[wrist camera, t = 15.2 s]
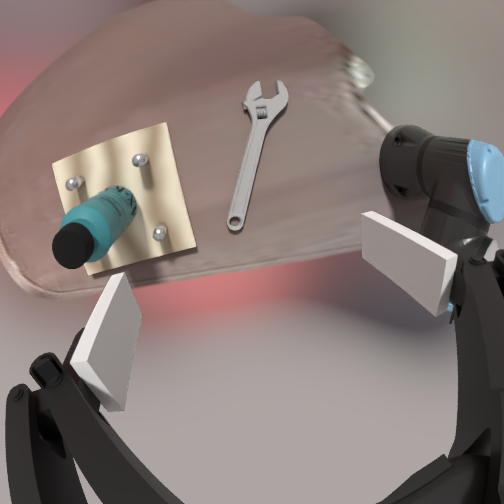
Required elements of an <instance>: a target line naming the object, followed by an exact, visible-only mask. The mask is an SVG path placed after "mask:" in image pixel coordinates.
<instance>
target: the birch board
mask: <svg viewBox="0 0 504 504" xmlns="http://www.w3.org/2000/svg"><path fill="white" fill-rule="evenodd" d="M141 153H146V154H147V155H148V156H149V162H148V163H147V164H145V165H143V166H140V167H135V166H134V165H133V164H132V158H133V156H134V155H136V154H141ZM52 166H53V170H54V174H55V178H56V182H57V186H58V190H59V193H60V197H61V200H62V204H63V207H64V210H65V213H66V214H67V212H68V211H70V210H71V209H72V208H74V207H76V206H79V205H80V204H82V203H84V202H85V201H87V200H88V199H89V198H91V197H94V196H95V195H97V193H98V192H100V193H101V191H102V192H103V190H104V191H105V189H106V188H107V189H108V187H113V186H120V185H121V186H122V187H125V188H127V189H128V190H131V191H132V193H133V195H135V197H136V198H135V199H136V202H137V204H138V205H137V210H138V211H137V212H136V213H137V214H136V215H135V216H136V217H134V219H133V220H132V221H133V222H132V221H131V222H132V223H130V224H129V226H127V227H128V228H127V229H125V230H124V231H123V233H122V234H121V235H122V236H121V235H120V238H118V239H117V240H116V241H115V242H114V244H113V245H112V246H111V248H110V249H109V251H108V252H107V254H106V255H105V256H104V257H103V258H102V259H100V260H98V261H96V262H91V263H84V266H85V268H86V270H87V273H88V275H91V274H95V273H98V272H102V271H105V270H109V269H113V268H117V267H120V266H124V265H128V264H131V263H135V262H139V261H143V260H146V259H150V258H154V257H158V256H162V255H166V254H169V253H173V252H177V251H181V250H185V249H189V248H193V247H196V241H195V237H194V233H193V229H192V226H191V222H190V218H189V214H188V210H187V207H186V203H185V199H184V195H183V191H182V186H181V182H180V178H179V174H178V170H177V165H176V161H175V157H174V152H173V148H172V143H171V139H170V134H169V129H168V125H167V123H166V122H165V123H162V124H158V125H155V126H151V127H148V128H144V129H141V130H138V131H135V132H132V133H129V134H126V135H123V136H120V137H117V138H114V139H111V140H108V141H106V142H103V143H100V144H98V145H95V146H93V147H90V148H88V149H85V150H83V151H80V152H78V153H75V154H73V155H71V156H69V157H66V158H64V159H62V160H60V161H57V162H55V163H53V164H52ZM79 175H82V176H84V178H85V184H84V185H83V186H81V187H79V188H77V189H75V190H72V191H68V190H67V189H66V187H65V183H66V181H67V180H68V179H70V178H73V177H76V176H79ZM98 194H99V193H98ZM159 222H164V223H166V225H167V231H166V234H165V237H164V239H163V240H162V241H159V242H158V241H155V240H154V239H153V236H152V235H153V232H154V229H155V227H156V225H157V224H158V223H159Z"/></svg>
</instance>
